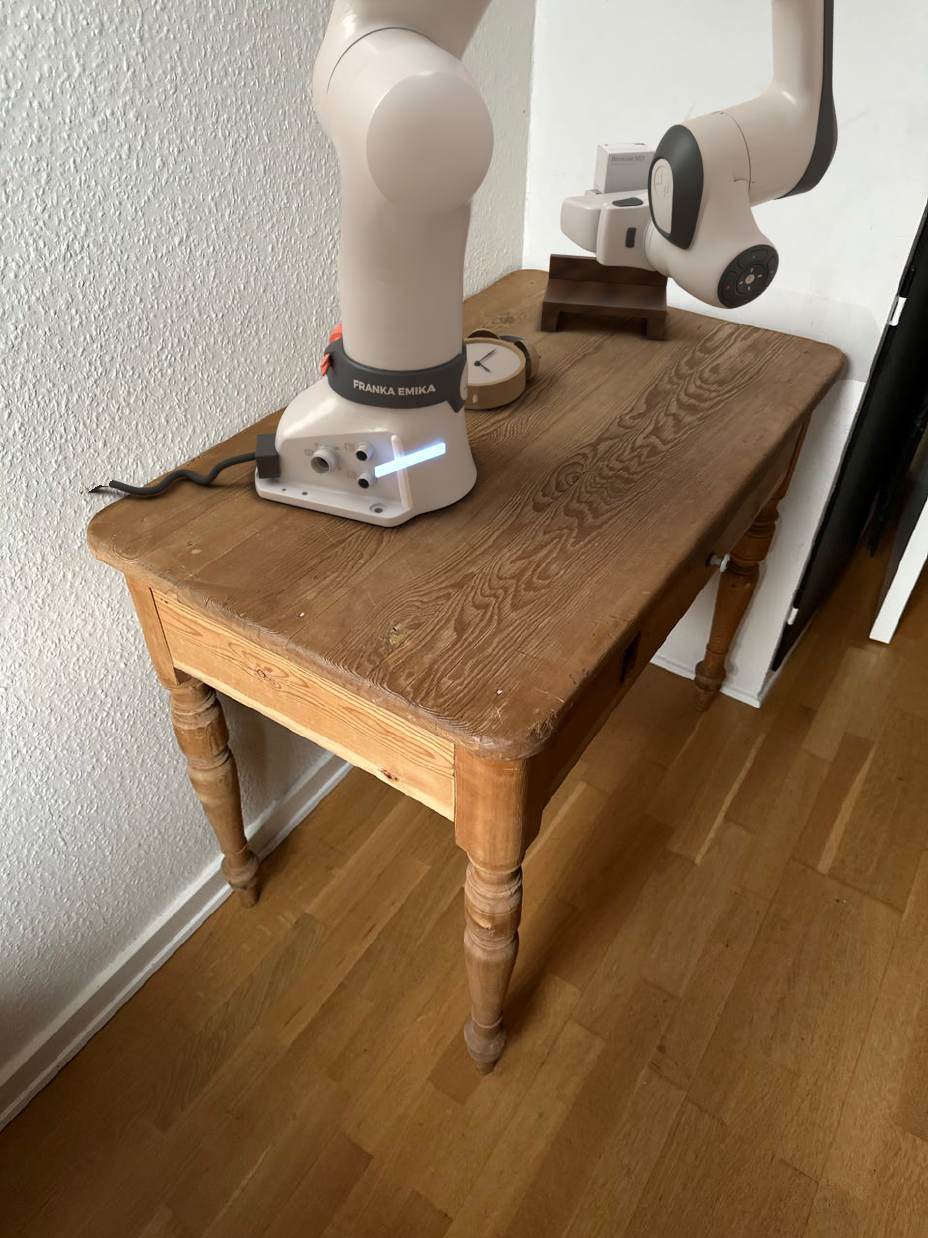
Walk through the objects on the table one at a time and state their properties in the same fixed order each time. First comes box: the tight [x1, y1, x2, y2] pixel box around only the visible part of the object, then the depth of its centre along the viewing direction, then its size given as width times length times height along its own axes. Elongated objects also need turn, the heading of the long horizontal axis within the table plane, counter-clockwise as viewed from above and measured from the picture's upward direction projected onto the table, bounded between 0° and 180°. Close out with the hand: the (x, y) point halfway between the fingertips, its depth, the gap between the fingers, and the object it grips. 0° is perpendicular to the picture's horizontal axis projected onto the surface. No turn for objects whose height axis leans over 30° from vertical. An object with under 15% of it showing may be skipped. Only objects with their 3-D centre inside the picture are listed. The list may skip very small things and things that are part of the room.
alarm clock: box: [463, 327, 542, 410], centre depth 108 cm, size 11×5×15 cm
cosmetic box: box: [592, 142, 656, 257], centre depth 112 cm, size 6×4×12 cm
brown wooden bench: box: [540, 253, 669, 341], centre depth 120 cm, size 16×9×7 cm, turn 81°
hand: (616, 193), depth 112 cm, fingers closed on cosmetic box, 6 cm apart
